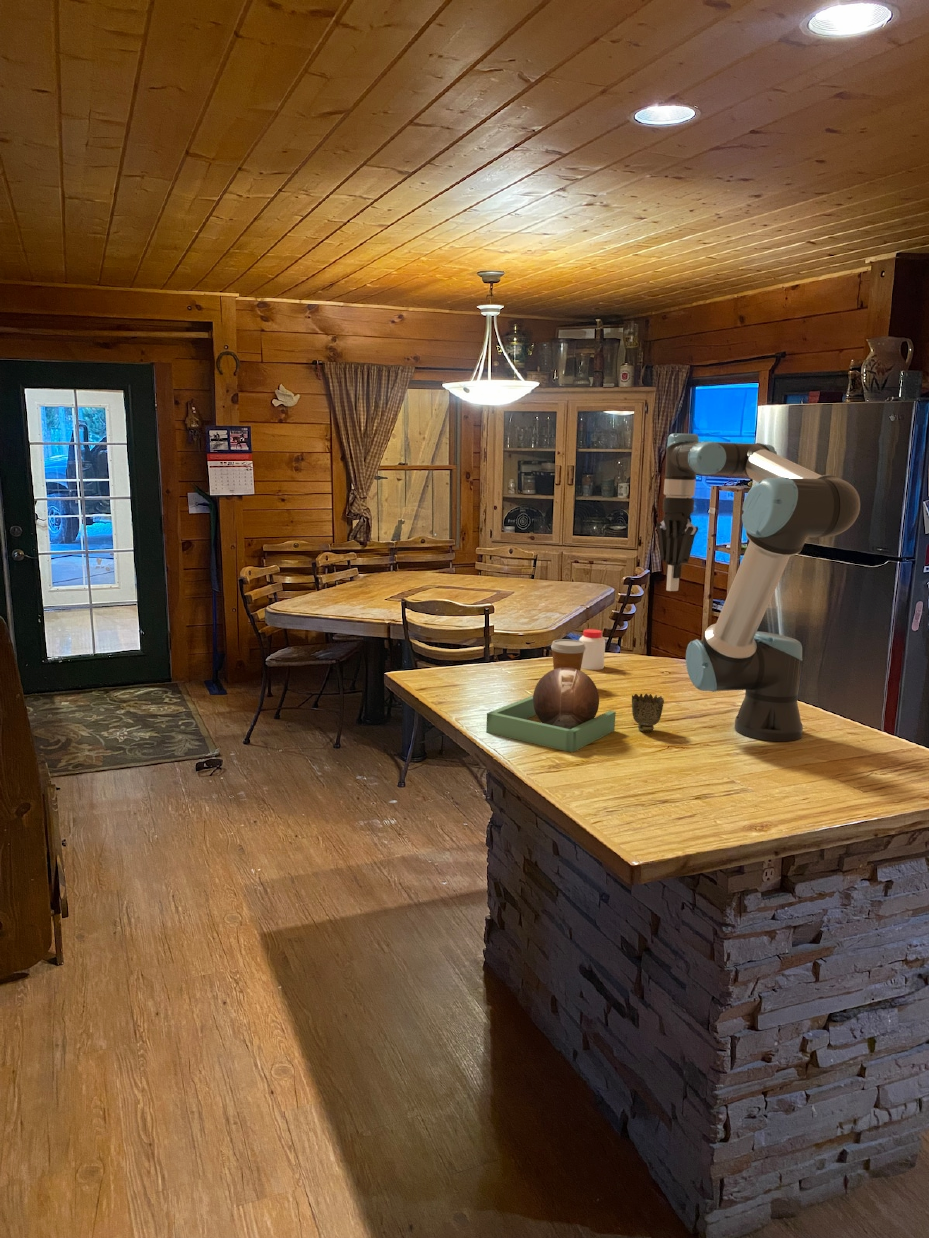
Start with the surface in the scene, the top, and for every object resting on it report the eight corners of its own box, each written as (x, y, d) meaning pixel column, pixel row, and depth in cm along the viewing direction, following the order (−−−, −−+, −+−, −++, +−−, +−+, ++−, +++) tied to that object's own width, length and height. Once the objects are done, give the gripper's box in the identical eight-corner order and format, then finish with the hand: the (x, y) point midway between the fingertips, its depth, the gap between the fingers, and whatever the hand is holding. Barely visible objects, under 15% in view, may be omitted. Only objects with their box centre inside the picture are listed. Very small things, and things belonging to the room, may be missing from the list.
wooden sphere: (540, 742, 202) (543, 676, 199) (525, 722, 216) (527, 660, 213) (605, 741, 204) (609, 675, 201) (586, 721, 219) (589, 660, 216)
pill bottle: (607, 666, 276) (609, 630, 275) (597, 671, 270) (599, 634, 268) (584, 662, 280) (586, 627, 279) (573, 667, 274) (575, 631, 272)
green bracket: (532, 712, 225) (533, 695, 224) (614, 730, 212) (615, 711, 211) (486, 732, 208) (486, 713, 207) (572, 752, 196) (573, 732, 195)
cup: (661, 736, 209) (664, 702, 207) (629, 733, 210) (631, 700, 209) (661, 727, 216) (664, 694, 214) (629, 724, 217) (632, 691, 216)
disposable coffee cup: (543, 681, 256) (545, 639, 253) (575, 680, 258) (577, 638, 256) (557, 690, 247) (559, 646, 245) (589, 688, 250) (591, 645, 247)
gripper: (709, 498, 225) (701, 593, 229) (672, 495, 236) (665, 586, 240) (686, 498, 221) (679, 595, 225) (649, 495, 232) (643, 587, 236)
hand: (672, 590), depth 232 cm, fingers closed
